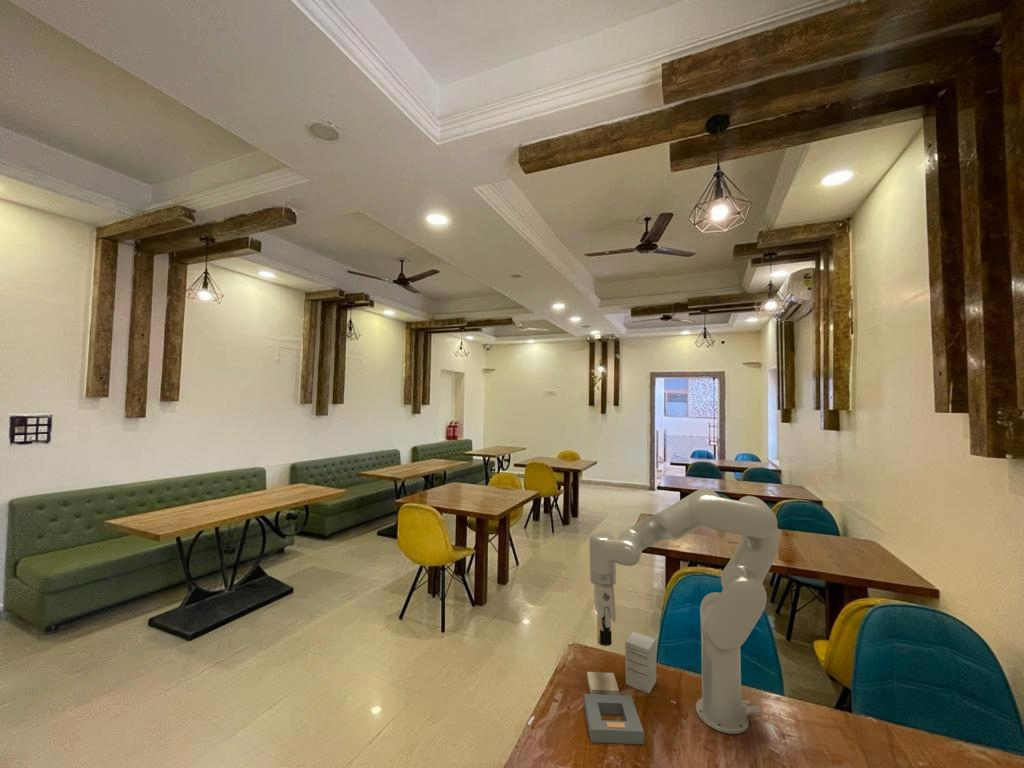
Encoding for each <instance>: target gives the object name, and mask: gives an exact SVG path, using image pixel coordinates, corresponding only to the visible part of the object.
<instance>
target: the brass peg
mask: <svg viewBox="0 0 1024 768" xmlns="http://www.w3.org/2000/svg"><path fill="white" fill-rule="evenodd" d="M602 619H605V617H602ZM610 620H611V621H612V619H611V616H610ZM604 624H605V622H603V625H604ZM596 629H597V630H596V631H597V633H596V634H597V644H598V645H599V646H602V647H610V646H611V645H601V643H600V630H601V621H600V620H599V618H598V615H597V614H596Z"/></svg>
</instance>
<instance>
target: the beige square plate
mask: <svg viewBox="0 0 1024 768" xmlns="http://www.w3.org/2000/svg"><path fill="white" fill-rule="evenodd" d="M615 676H616V675H615V673H614V672H598V671H597V672H596V671H595V672H594V671H586V677H587V678H586V680H587V684H588V689H589V694H601V695H620V689H619V686H618V683H617V680H616V677H615Z"/></svg>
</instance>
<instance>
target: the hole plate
mask: <svg viewBox="0 0 1024 768" xmlns="http://www.w3.org/2000/svg"><path fill="white" fill-rule="evenodd" d="M583 708H584V713H585V718H586V723H587V729H588V735H589V740H590V742H591V743H603V744H607V743H608V744H627V745H645V730H644V728H643V725H642V722H641V720H640V717H639V714H638V712H637V709H636V706H635V703H634V700H633V698H632V695H626V694H624V695H623V694H619V695H601V694H590V693H583ZM602 715H613V716H614V715H616V716H621V717H622V720H604V719H603V720H602Z"/></svg>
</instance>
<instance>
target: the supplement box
mask: <svg viewBox="0 0 1024 768" xmlns="http://www.w3.org/2000/svg"><path fill="white" fill-rule="evenodd" d="M624 645H625V646H624V647H625V651H624V652H625V653H624V654H625V655H624V656H625V661H624V662H625V664H624V666H625V667H624V668H625V671H624V672H625V685H626V686H629V687H631V688H634V689H635V690H638V691H641V692H644V693H646V694H650V693H651V692H652V690H653V688H654V687H655V685H656V682H657V639H656V638H654V637H651V636H649V635H647V634H646V635H645V634H642V633H639V632H636V631H632V632H631V634H630V635H629V636H628V638H627V639H626V640H625V642H624Z"/></svg>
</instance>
